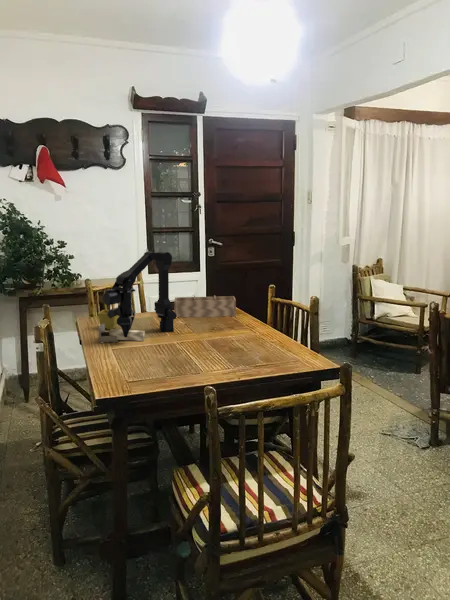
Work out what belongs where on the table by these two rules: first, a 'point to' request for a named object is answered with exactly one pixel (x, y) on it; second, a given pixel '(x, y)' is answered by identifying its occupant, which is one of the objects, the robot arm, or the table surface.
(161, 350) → the table surface
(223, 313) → the holder
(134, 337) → the rail
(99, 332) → the bracket
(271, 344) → the table surface
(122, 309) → the robot arm
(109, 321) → the flower pot
